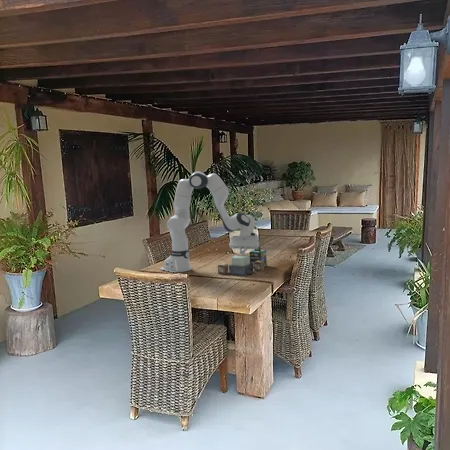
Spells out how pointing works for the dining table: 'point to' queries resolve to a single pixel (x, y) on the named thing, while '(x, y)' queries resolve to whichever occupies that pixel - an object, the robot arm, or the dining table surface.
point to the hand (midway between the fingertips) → (241, 253)
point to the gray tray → (241, 269)
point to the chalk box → (258, 256)
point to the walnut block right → (258, 265)
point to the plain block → (240, 260)
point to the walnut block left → (223, 269)
